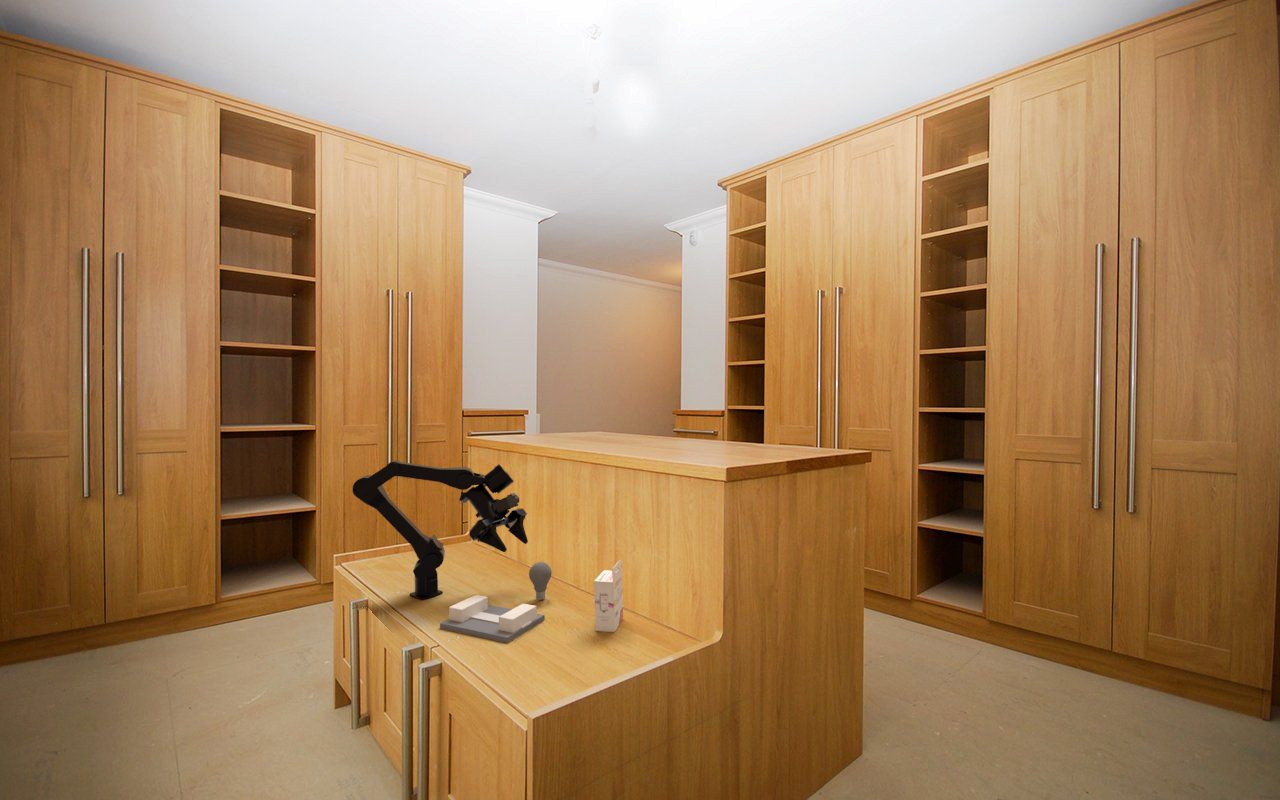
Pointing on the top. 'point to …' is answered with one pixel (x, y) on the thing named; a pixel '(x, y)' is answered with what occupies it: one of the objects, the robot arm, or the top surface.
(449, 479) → the robot arm
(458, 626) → the rail board
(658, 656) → the top surface
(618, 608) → the ink cartridge box
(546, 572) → the light bulb
